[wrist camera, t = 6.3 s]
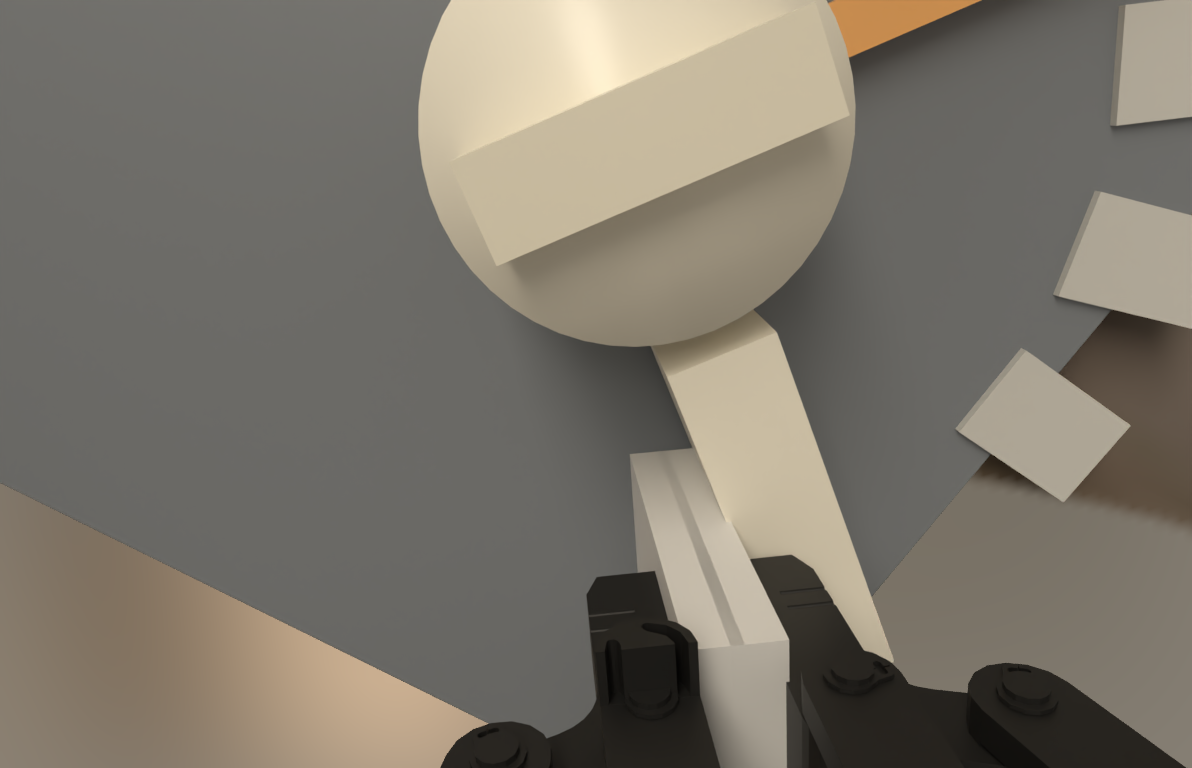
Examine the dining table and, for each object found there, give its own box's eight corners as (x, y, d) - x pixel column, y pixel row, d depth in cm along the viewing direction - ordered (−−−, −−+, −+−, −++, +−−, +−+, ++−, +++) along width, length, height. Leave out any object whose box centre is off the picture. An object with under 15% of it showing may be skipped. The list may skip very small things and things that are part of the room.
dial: (654, 597, 20) (702, 806, 14) (398, 35, 16) (314, -7, 10) (1310, 337, 19) (1663, 443, 13) (1215, -333, 15) (1665, -625, 9)
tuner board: (-155, 357, 18) (-221, 381, 17) (479, -1090, 13) (469, -1266, 11) (737, 807, 24) (752, 858, 22) (1476, -60, 18) (1570, -78, 16)
